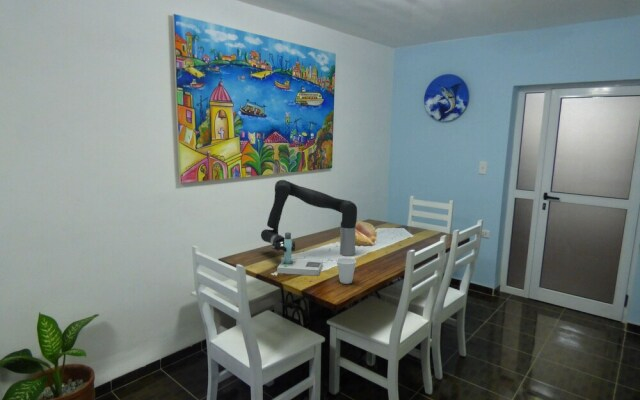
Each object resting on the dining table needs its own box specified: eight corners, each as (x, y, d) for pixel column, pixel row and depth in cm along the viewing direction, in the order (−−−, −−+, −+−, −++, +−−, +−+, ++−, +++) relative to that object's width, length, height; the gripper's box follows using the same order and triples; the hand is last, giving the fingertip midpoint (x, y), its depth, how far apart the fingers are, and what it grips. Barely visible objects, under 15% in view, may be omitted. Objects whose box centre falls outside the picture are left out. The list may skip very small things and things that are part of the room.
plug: (285, 265, 208) (285, 232, 205) (292, 265, 207) (292, 232, 204) (283, 267, 204) (283, 233, 201) (290, 268, 203) (290, 234, 200)
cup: (332, 279, 190) (333, 258, 188) (350, 277, 194) (351, 256, 192) (340, 286, 181) (341, 264, 179) (359, 284, 184) (359, 262, 183)
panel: (284, 263, 214) (284, 257, 214) (322, 265, 211) (322, 259, 210) (277, 273, 199) (277, 266, 198) (318, 275, 195) (318, 269, 195)
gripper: (267, 236, 213) (277, 244, 198) (290, 234, 219) (302, 241, 204) (267, 249, 214) (277, 258, 199) (290, 246, 220) (302, 254, 205)
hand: (289, 249), depth 202 cm, fingers closed on plug, 4 cm apart
